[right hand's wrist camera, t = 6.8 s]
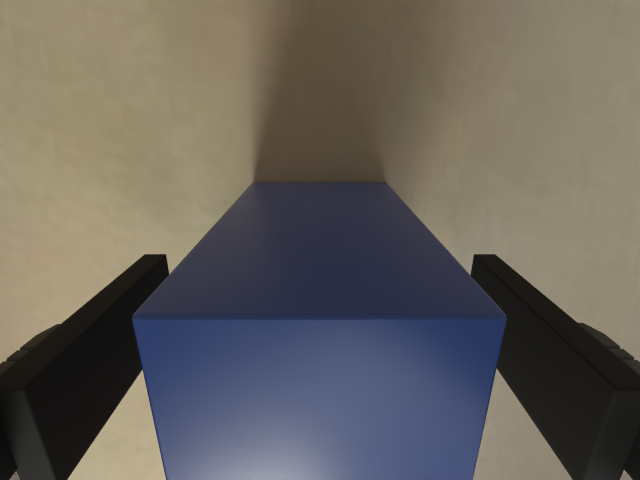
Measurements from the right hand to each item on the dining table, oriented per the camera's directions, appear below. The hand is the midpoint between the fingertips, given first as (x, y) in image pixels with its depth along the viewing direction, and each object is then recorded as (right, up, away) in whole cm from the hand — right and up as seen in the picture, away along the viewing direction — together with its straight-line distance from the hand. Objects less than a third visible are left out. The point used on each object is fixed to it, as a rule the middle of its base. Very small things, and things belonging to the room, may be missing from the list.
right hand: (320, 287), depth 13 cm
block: (0, +1, +4) cm, 4 cm away
